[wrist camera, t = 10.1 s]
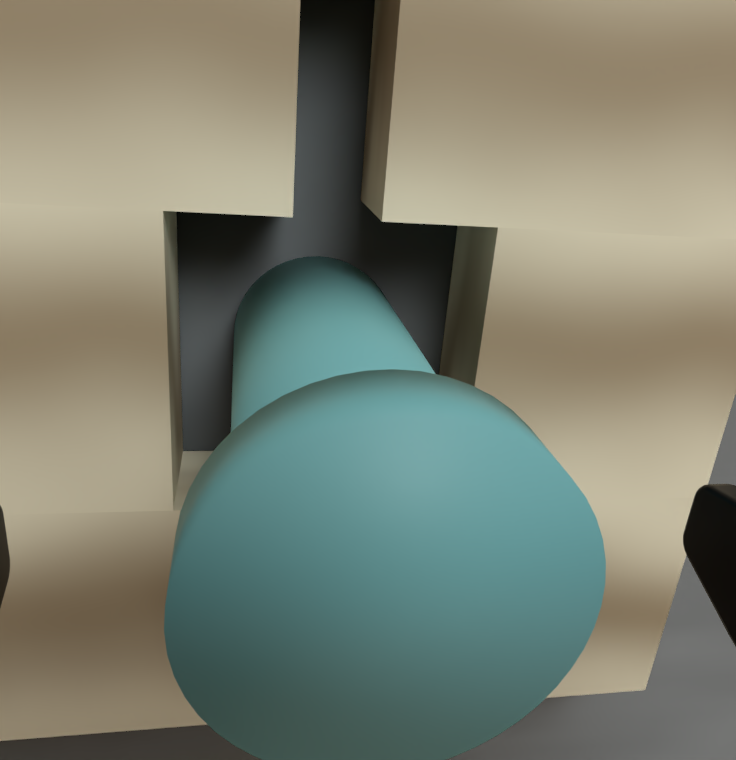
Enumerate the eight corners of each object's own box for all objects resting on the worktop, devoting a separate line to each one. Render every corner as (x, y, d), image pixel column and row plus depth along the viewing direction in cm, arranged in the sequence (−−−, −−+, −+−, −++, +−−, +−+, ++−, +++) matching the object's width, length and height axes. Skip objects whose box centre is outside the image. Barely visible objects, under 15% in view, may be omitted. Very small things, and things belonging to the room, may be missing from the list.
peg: (407, 428, 17) (562, 757, 9) (207, 429, 16) (171, 795, 8) (428, 233, 15) (650, 415, 7) (204, 223, 14) (154, 418, 6)
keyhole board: (601, 623, 21) (645, 689, 19) (-56, 663, 18) (-100, 748, 15) (785, -83, 14) (890, -115, 12) (-238, -232, 11) (-365, -314, 8)
